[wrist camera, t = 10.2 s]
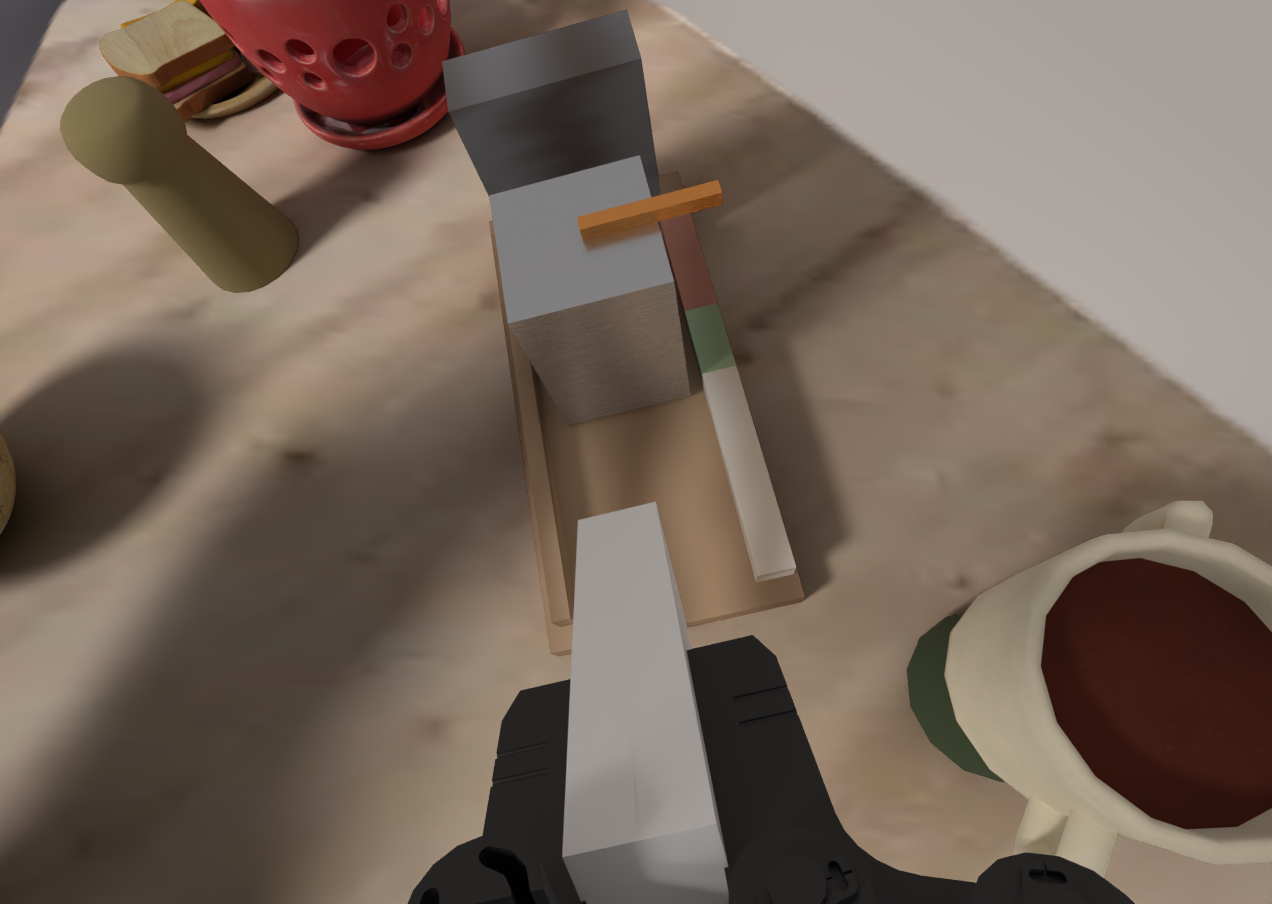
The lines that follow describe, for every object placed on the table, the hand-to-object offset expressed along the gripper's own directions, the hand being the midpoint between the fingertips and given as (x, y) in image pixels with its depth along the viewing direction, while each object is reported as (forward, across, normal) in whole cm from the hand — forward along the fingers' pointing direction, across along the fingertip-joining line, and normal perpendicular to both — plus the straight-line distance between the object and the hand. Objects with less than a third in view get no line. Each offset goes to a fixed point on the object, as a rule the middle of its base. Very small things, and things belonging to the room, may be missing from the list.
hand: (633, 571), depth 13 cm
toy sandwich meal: (+46, -23, +20) cm, 55 cm away
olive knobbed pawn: (+33, -21, +8) cm, 40 cm away
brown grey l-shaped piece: (+21, 0, -3) cm, 21 cm away
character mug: (+9, +12, -15) cm, 21 cm away
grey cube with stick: (+21, +1, -1) cm, 21 cm away
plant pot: (+40, -11, +14) cm, 44 cm away
